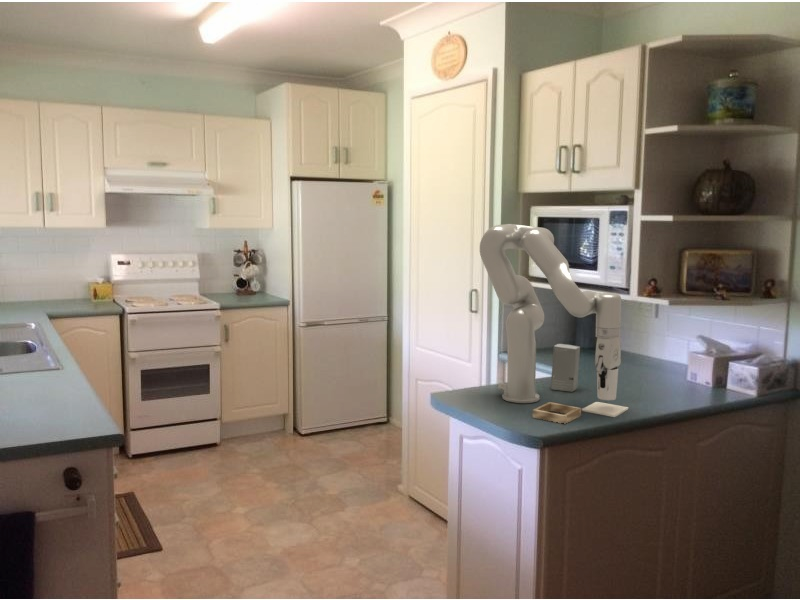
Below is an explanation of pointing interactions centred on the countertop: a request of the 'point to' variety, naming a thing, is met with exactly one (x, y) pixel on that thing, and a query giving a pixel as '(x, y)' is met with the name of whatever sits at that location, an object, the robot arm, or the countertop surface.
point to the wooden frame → (569, 411)
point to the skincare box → (565, 367)
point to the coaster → (605, 409)
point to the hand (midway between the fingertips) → (606, 387)
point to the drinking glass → (608, 385)
